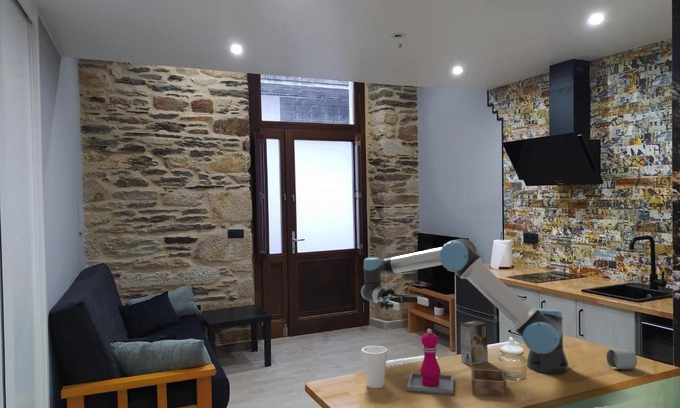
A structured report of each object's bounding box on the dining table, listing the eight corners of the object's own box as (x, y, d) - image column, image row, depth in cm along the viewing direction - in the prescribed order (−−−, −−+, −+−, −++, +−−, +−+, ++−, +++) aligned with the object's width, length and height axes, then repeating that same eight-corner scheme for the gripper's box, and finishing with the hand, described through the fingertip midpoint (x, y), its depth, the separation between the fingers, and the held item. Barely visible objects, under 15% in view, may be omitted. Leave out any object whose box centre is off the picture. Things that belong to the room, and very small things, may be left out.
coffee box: (477, 357, 199) (476, 319, 199) (488, 362, 194) (487, 323, 194) (460, 361, 195) (459, 322, 195) (471, 366, 189) (470, 326, 189)
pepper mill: (416, 381, 173) (415, 327, 173) (433, 378, 175) (432, 325, 175) (427, 388, 166) (425, 332, 166) (444, 385, 168) (443, 330, 168)
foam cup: (378, 391, 166) (378, 355, 166) (357, 386, 172) (356, 350, 172) (392, 383, 173) (391, 348, 173) (371, 378, 179) (371, 344, 179)
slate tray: (453, 379, 175) (453, 374, 175) (453, 394, 162) (453, 389, 162) (410, 376, 179) (410, 372, 179) (406, 391, 166) (406, 386, 166)
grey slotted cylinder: (638, 371, 179) (638, 351, 179) (618, 372, 178) (617, 352, 179) (620, 362, 189) (620, 343, 190) (601, 363, 189) (600, 344, 189)
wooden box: (503, 384, 170) (503, 370, 170) (506, 397, 159) (506, 382, 159) (471, 382, 172) (471, 368, 172) (472, 394, 162) (472, 380, 162)
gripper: (409, 301, 205) (439, 310, 186) (359, 309, 194) (386, 319, 175) (408, 284, 205) (439, 291, 186) (358, 291, 195) (385, 299, 175)
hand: (413, 304), depth 181 cm, fingers open, 13 cm apart
